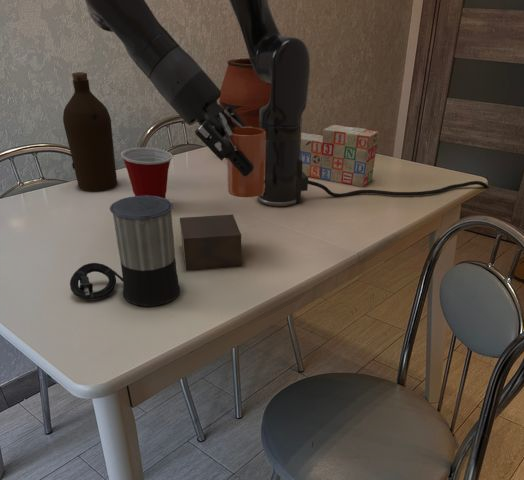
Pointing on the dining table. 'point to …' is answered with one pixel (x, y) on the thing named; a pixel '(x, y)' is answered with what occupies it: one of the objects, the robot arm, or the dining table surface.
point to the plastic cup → (147, 170)
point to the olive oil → (89, 138)
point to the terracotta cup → (254, 150)
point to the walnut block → (210, 242)
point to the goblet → (244, 91)
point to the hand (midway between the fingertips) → (255, 166)
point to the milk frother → (138, 254)
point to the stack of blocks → (340, 154)
